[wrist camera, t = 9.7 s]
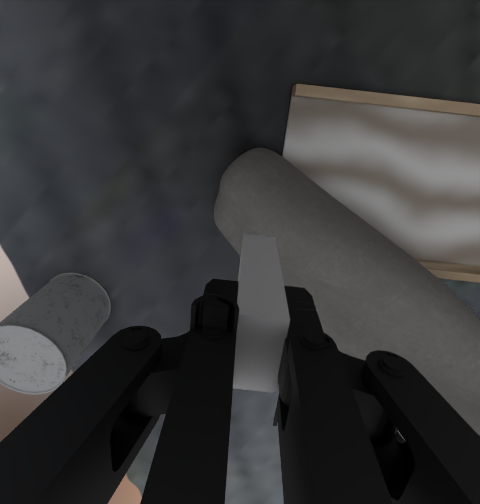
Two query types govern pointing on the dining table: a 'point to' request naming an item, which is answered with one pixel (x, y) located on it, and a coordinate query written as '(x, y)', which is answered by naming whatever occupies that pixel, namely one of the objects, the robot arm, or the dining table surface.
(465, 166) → the tray
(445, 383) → the vase
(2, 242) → the dining table surface
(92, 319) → the grey cylinder
